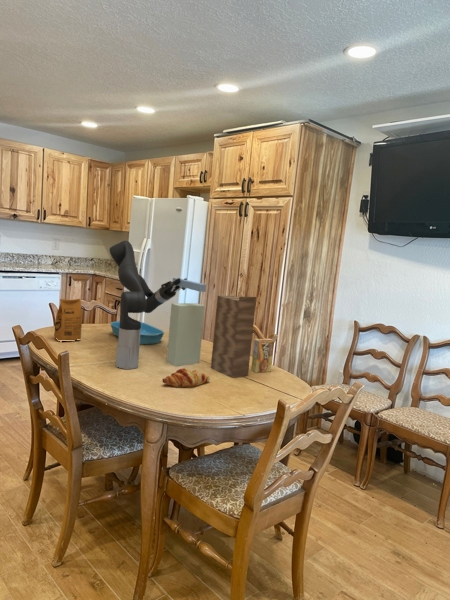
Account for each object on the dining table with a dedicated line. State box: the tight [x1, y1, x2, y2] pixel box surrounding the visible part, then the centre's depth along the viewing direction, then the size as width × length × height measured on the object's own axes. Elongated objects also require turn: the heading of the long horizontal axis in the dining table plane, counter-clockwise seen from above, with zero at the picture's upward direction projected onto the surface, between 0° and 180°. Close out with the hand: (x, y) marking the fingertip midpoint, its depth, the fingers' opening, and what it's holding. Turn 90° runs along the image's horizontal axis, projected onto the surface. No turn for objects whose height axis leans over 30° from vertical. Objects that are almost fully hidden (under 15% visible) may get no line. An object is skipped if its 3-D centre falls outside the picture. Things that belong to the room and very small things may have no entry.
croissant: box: [162, 368, 211, 388], centre depth 172 cm, size 21×10×8 cm, turn 122°
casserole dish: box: [110, 320, 165, 345], centre depth 241 cm, size 37×22×7 cm, turn 40°
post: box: [210, 295, 257, 379], centre depth 192 cm, size 16×9×36 cm, turn 39°
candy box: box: [250, 338, 275, 374], centre depth 199 cm, size 9×4×15 cm, turn 119°
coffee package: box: [53, 298, 83, 340], centre depth 221 cm, size 10×12×22 cm
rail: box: [172, 277, 207, 293], centre depth 198 cm, size 23×3×3 cm, turn 39°
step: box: [166, 302, 205, 367], centre depth 200 cm, size 7×14×28 cm, turn 129°
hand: (183, 280), depth 202 cm, fingers closed on rail, 3 cm apart
